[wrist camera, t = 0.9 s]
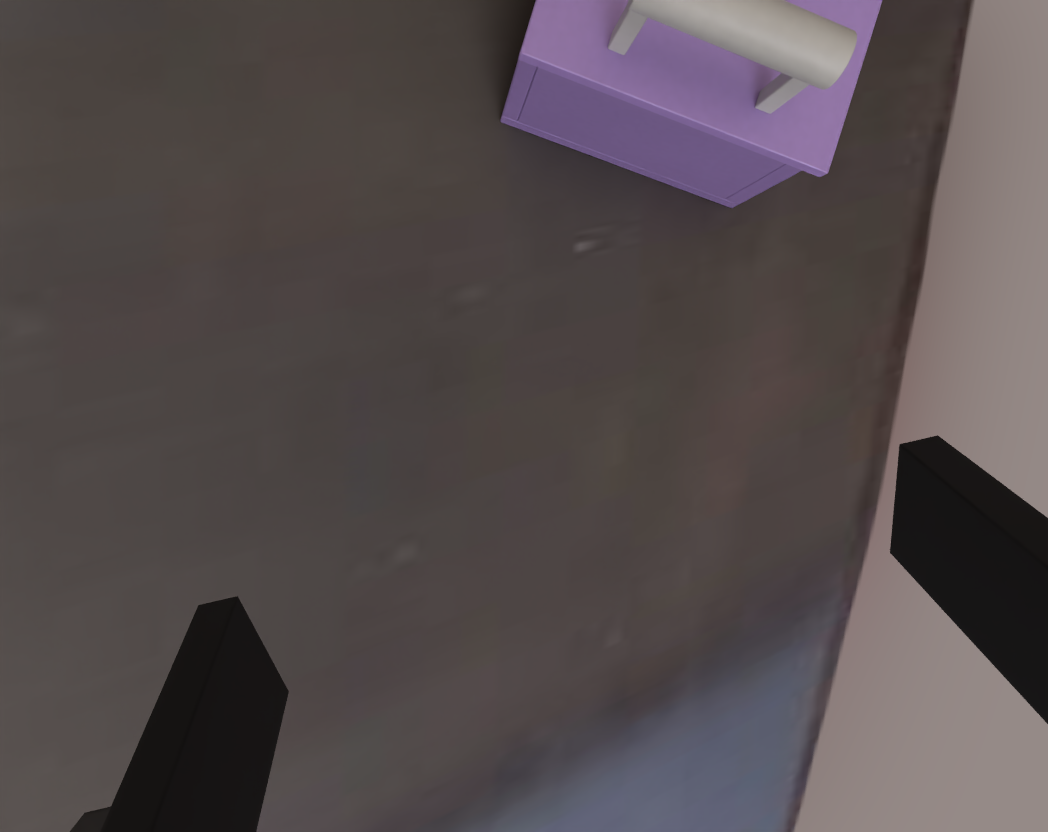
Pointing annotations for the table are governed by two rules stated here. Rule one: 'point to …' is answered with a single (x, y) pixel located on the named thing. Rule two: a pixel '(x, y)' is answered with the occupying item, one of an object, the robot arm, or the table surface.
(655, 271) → the table surface
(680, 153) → the box
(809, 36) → the lid
